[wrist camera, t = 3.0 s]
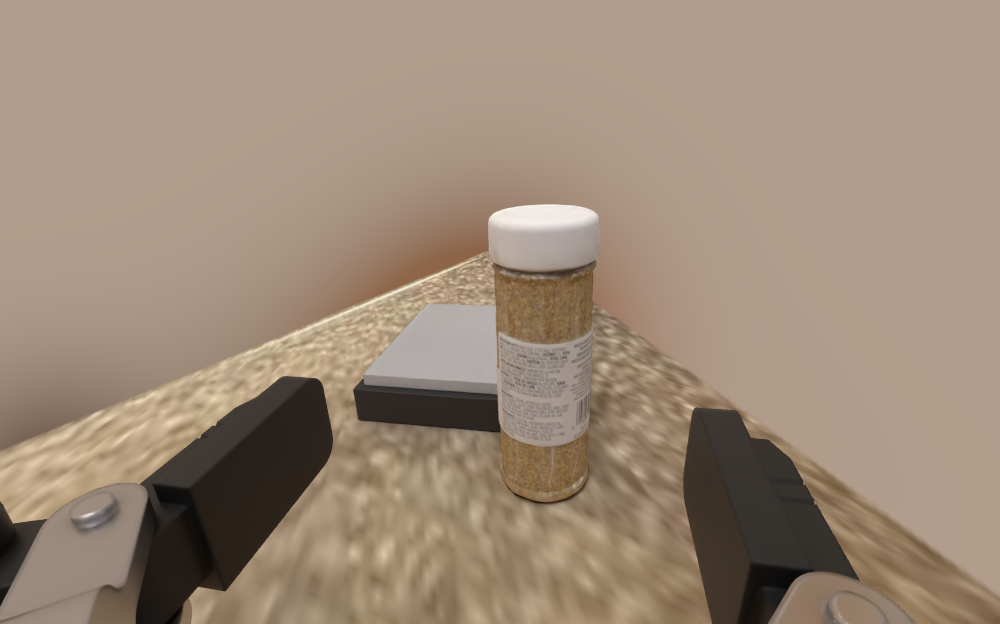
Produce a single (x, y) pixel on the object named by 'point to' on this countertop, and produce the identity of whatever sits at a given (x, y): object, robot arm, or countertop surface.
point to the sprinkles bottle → (544, 344)
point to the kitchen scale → (437, 372)
